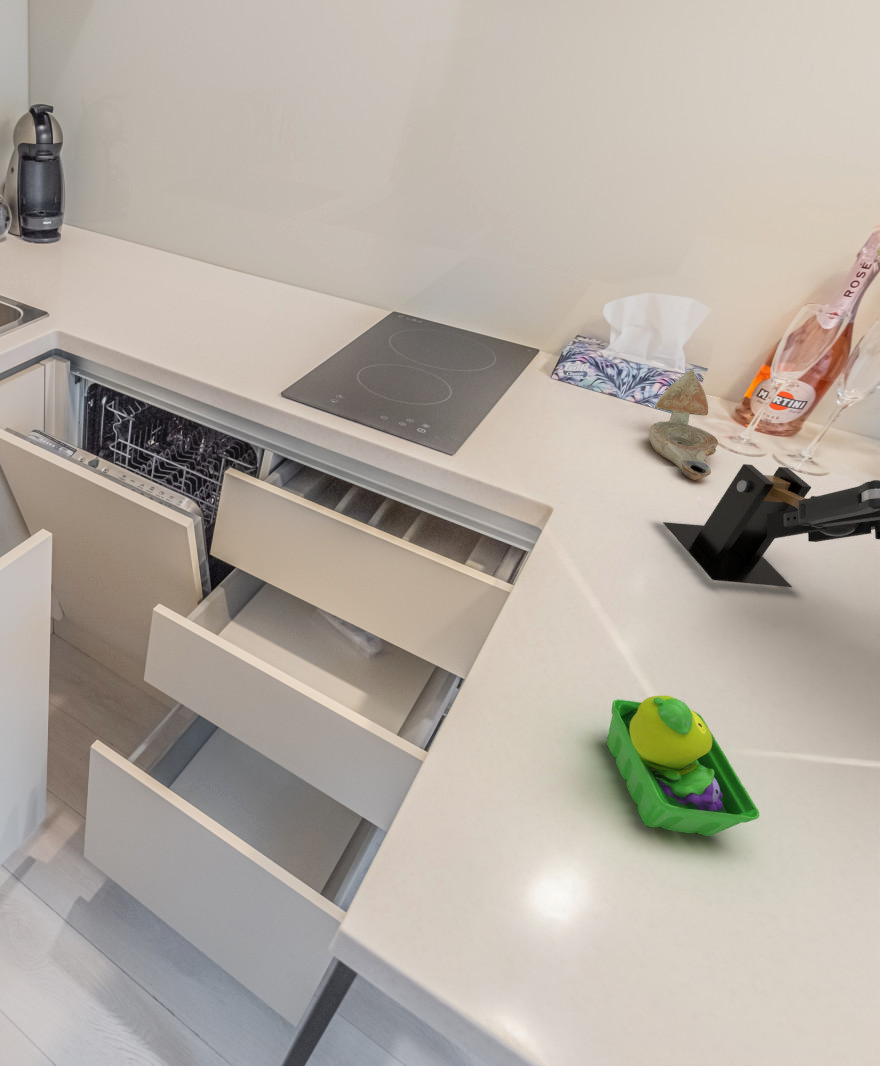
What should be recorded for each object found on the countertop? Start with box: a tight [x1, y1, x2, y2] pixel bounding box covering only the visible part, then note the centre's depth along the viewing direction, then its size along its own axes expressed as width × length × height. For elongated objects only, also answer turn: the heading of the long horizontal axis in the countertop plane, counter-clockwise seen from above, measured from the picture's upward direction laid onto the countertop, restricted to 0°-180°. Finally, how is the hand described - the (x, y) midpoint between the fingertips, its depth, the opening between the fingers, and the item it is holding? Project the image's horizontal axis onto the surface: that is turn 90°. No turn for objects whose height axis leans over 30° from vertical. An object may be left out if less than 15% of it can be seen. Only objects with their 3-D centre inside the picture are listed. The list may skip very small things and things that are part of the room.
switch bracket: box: [662, 463, 812, 588], centre depth 92 cm, size 12×9×13 cm
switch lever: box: [763, 474, 861, 536], centre depth 85 cm, size 13×4×4 cm, turn 173°
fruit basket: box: [606, 694, 760, 837], centre depth 65 cm, size 11×9×11 cm
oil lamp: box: [648, 370, 719, 481], centre depth 114 cm, size 9×21×10 cm, turn 157°
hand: (791, 528), depth 86 cm, fingers closed on switch lever, 4 cm apart
